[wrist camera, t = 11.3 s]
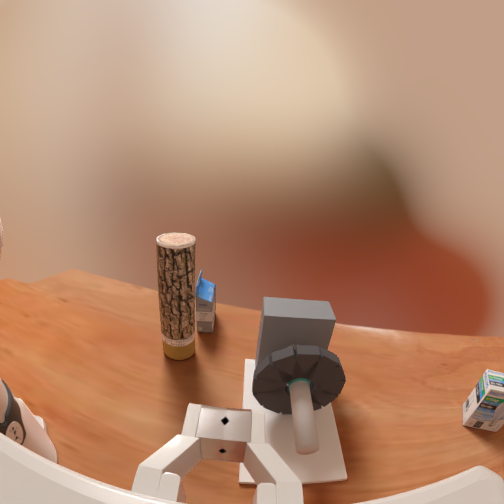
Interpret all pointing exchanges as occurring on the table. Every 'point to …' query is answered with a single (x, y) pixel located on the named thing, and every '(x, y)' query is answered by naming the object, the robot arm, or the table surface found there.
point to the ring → (297, 366)
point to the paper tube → (177, 293)
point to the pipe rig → (297, 393)
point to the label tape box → (205, 305)
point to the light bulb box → (486, 403)
